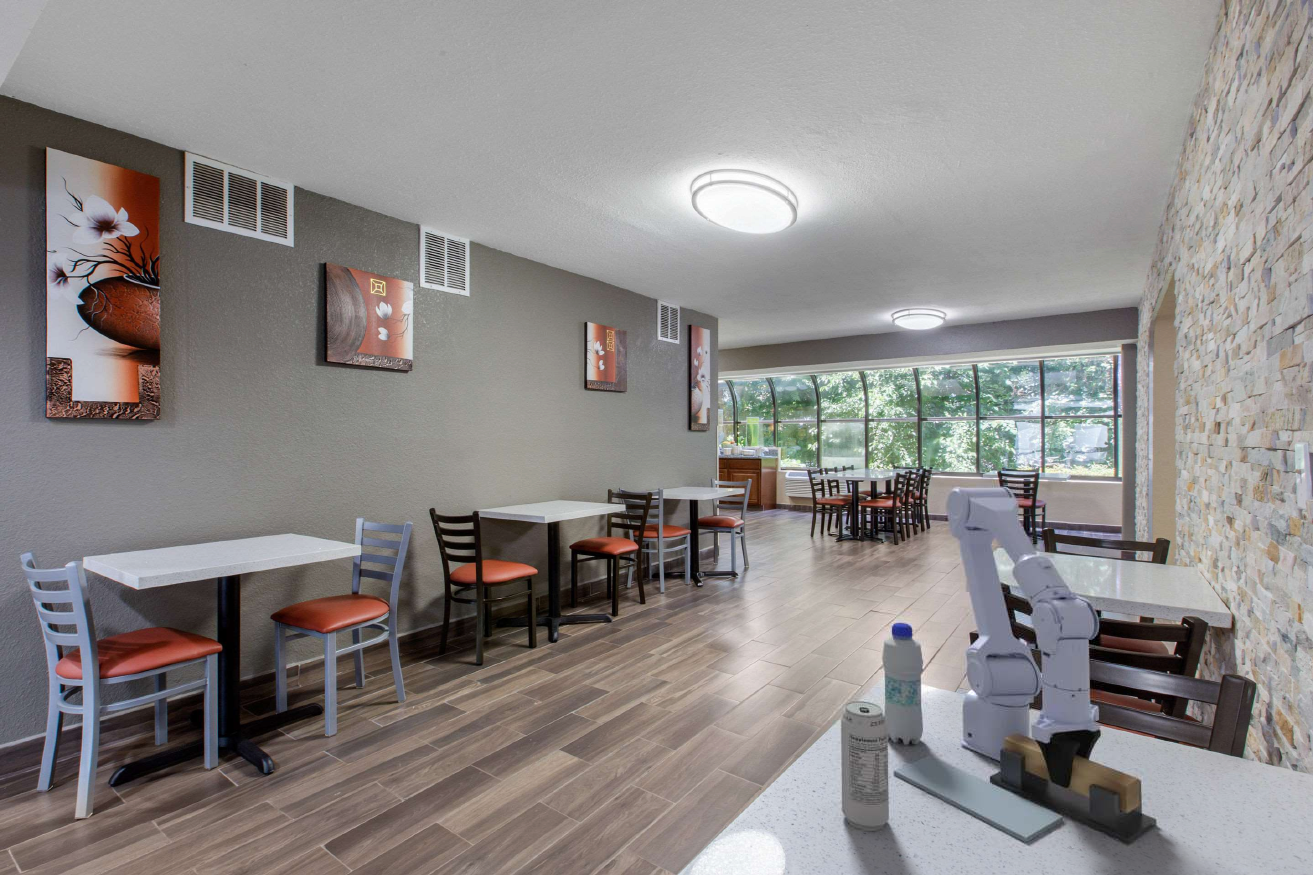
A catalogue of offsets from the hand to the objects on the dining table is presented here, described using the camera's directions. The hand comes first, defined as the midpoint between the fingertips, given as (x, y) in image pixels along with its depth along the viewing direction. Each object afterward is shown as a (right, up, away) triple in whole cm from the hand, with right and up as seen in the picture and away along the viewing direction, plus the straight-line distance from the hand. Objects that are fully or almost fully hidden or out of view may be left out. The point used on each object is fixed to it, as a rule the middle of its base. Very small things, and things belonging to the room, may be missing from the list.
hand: (1067, 780), depth 89 cm
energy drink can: (-30, -3, -4) cm, 31 cm away
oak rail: (0, 0, 0) cm, 0 cm away
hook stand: (0, -3, 0) cm, 3 cm away
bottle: (-16, -4, +20) cm, 25 cm away
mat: (-13, -3, +2) cm, 13 cm away
